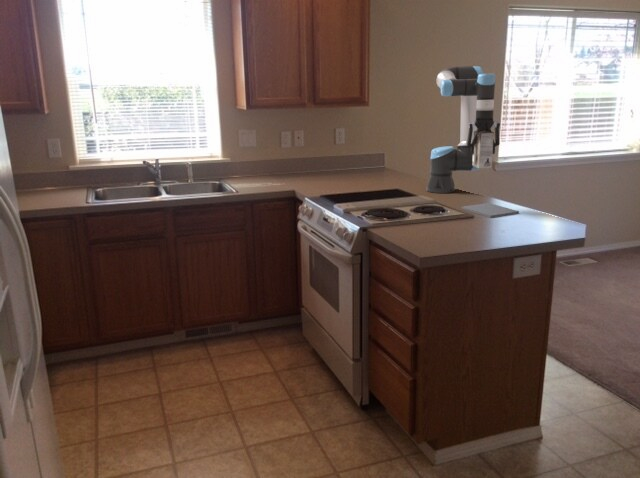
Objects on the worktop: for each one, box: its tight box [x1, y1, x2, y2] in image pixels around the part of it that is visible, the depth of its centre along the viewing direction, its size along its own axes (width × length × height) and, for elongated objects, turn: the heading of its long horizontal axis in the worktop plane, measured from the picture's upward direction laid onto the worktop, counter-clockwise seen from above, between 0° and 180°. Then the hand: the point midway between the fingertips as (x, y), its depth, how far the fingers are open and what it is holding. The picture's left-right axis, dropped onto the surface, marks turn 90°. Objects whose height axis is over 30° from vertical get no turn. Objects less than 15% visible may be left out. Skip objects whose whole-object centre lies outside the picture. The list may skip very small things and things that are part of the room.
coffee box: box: [472, 131, 495, 169], centre depth 254 cm, size 9×6×16 cm
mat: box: [461, 202, 520, 219], centre depth 256 cm, size 20×16×1 cm
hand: (482, 161), depth 256 cm, fingers closed on coffee box, 7 cm apart
